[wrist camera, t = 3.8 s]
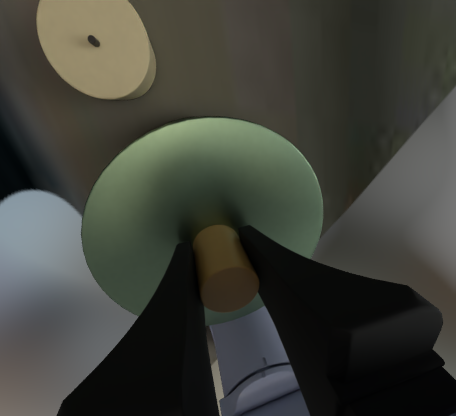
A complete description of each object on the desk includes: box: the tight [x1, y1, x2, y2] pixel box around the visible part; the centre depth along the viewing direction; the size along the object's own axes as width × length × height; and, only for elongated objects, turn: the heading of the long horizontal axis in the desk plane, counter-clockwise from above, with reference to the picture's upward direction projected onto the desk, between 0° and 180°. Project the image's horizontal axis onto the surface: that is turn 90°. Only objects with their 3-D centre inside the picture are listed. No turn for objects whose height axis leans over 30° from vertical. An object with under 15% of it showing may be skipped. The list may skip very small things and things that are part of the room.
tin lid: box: [81, 116, 323, 326], centre depth 10 cm, size 12×12×4 cm
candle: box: [36, 0, 156, 100], centre depth 11 cm, size 4×4×5 cm
